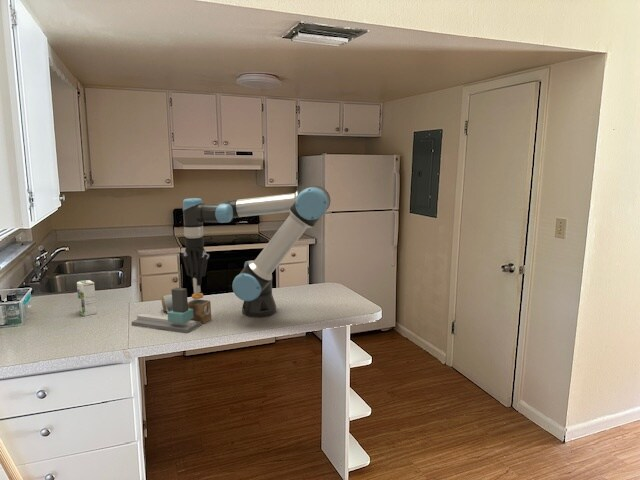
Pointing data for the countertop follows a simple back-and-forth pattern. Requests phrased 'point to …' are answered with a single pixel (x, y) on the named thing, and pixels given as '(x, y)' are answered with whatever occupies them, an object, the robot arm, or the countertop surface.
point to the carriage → (180, 307)
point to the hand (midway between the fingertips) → (197, 292)
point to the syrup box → (86, 297)
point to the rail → (164, 323)
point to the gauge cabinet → (200, 310)
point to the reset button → (197, 296)
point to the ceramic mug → (167, 303)
